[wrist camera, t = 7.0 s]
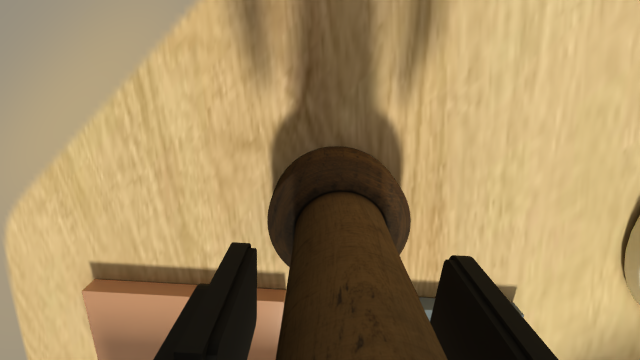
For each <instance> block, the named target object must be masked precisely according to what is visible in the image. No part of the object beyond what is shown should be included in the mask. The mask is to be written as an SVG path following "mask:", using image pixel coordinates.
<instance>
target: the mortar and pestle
mask: <svg viewBox="0 0 640 360" xmlns="http://www.w3.org/2000/svg"><path fill="white" fill-rule="evenodd" d="M410 222H411V220H410V210H409V206H408V203H407V200H406V197H405V195H404V193H403V191H402V190H401V188H400V187H399V185H398V184H397V182H396V181H395V179H394V178H393V176H392V175H391V174H390V172H389V171H388V170H387V169H386V168H385V167H384V166H383V165H382V164H381V163H380V162H379V161H377V160H376V159H375V158H373V157H372V156H370V155H368V154H366V153H364V152H362V151H359V150H356V149H353V148H348V147H325V148H320V149H317V150H314V151H311V152H309V153H307V154H305V155H303V156H301V157H300V158H298V159H297V160H295V161H294V162H293V163H292V164H291V165H290V166H289V167H288V168H287V169H286V170H285V172H284V173H283V174H282V176H281V177H280V179H279V181H278V183H277V185H276V188H275V190H274V193H273V196H272V199H271V202H270V205H269V210H268V230H269V235H270V239H271V242H272V244H273V246H274V248H275V250H276V252H277V254H278V255H279V256H280V258H281V259H282V260H283V261H284V262H285V263H286V264H287V265H288V266H289V267H290V270H289V277H288V283H287V290H286V296H285V303H284V309H283V315H282V322H281V328H280V335H279V341H278V347H277V353H276V359H275V360H448V359H447V357H446V355H445V353H444V351H443V349H442V347H441V345H440V343H439V340H438V338H437V336H436V334H435V332H434V330H433V328H432V326H431V323H430V321H429V319H428V317H427V315H426V313H425V311H424V308H423V306H422V304H421V302H420V300H419V297H418V295H417V293H416V291H415V289H414V287H413V285H412V282H411V280H410V278H409V276H408V274H407V271H406V269H405V267H404V265H403V263H402V260H401V258H400V256H399V255H400V254H401V252H402V250H403V249H404V246H405V244H406V242H407V239H408V236H409V232H410Z"/></svg>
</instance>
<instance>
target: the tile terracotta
mask: <svg viewBox="0 0 640 360" xmlns="http://www.w3.org/2000/svg"><path fill="white" fill-rule="evenodd" d="M196 287H197V285H190V284H172V283H154V282H136V281H118V280H100V279H95V280H94V281H92V282H91V283H90V284H89V285H88V286H87V287H86V288H85V289H84V290H82V294H83V298H84V302H85V306H86V311H87V315H88V319H89V323H90V328H91V332H92V336H93V340H94V345H95V349H96V353H97V357H98V360H153V359H154V357H155V356H156V354H157V352H158V351H159V349H160V347H161V345H162V344H163V342H164V340H165V339H166V337H167V335H168V334H169V332H170V330H171V329H172V327H173V325H174V323H175V322H176V320H177V318H178V317H179V315H180V313H181V312H182V310H183V308H184V306H185V305H186V303H187V301H188V300H189V298H190V296H191V295H192V293H193V291H194V289H195V288H196ZM285 296H286V290H280V289H262V288H257V321H256V327H255V331H254V335H253V339H252V343H251V347H250V350H249V354H248V358H247V360H275V359H276V353H277V347H278V341H279V335H280V328H281V322H282V315H283V309H284V303H285Z"/></svg>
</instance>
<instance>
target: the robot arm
mask: <svg viewBox="0 0 640 360" xmlns="http://www.w3.org/2000/svg"><path fill="white" fill-rule="evenodd" d="M624 271H625V277H626V282H627V286H628V288H629V290H630V292H631V294H632V296H633V298H634V300H635V301H636V302H637V303H638V304H639V305H640V215H639V217H638V219H637V221H636V223H635V225H634V227H633V229H632V231H631V234H630V238H629V241H628V244H627V248H626V252H625V266H624ZM256 321H257V250H256V248H251V244H250V243H234V242H233V243H231V245H230V247H229V249H228V251H227V252H226V254H225V256H224V258H223V260H222V262H221V264H220V266H219V268H218V269H217V271H216V273H215V275H214V277H213V279H212V281H211V283H210V284H199V285H197V287H196V288H195V289H194V291H193V293H192V295H191V296H190V298H189V300H188V301H187V303H186V305H185V306H184V308H183V310H182V312H181V313H180V315H179V317H178V318H177V320H176V322H175V323H174V325H173V327H172V329H171V330H170V332H169V334H168V335H167V337H166V339H165V340H164V342H163V344H162V345H161V347H160V349H159V351H158V352H157V354H156V356H155V357H154V359H153V360H247V358H248V354H249V350H250V347H251V343H252V339H253V335H254V331H255V327H256ZM430 323H431V326H432V328H433V330H434V332H435V334H436V336H437V338H438V340H439V343H440V345H441V347H442V349H443V351H444V353H445V355H446V357H447V359H448V360H558V359H557V357H556V356H555V355H554V354H553V353H552V351H551V350H550V349H549V348H548V347H547V345H546V344H545V343H544V342H543V341H542V340H541V338H540V337H539V336H538V335H537V334H536V332H535V331H534V330H533V329H532V328H531V326H530V325H529V324H528V323H527V322H526V321H525V319H524V318H523V317H522V316H521V315H520V313H519V312H518V311H517V310H516V309H515V307H514V306H513V305H512V304H511V303H510V301H509V300H508V299H507V298H506V297H505V296H504V294H503V293H502V292H501V291H500V290H499V288H498V287H497V286H496V285H495V284H494V282H493V281H492V280H491V279H490V278H489V277H488V275H487V274H486V273H485V272H484V271H483V269H482V268H481V267H480V266H479V265H478V263H477V262H476V261H475V260H474V259H473V258H472V257H470V256H456V255H453V256H451V257H450V258H449V260H445V261H444V264H443V268H442V273H441V277H440V281H439V285H438V289H437V294H436V298H435V302H434V306H433V310H432V315H431V319H430Z"/></svg>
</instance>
